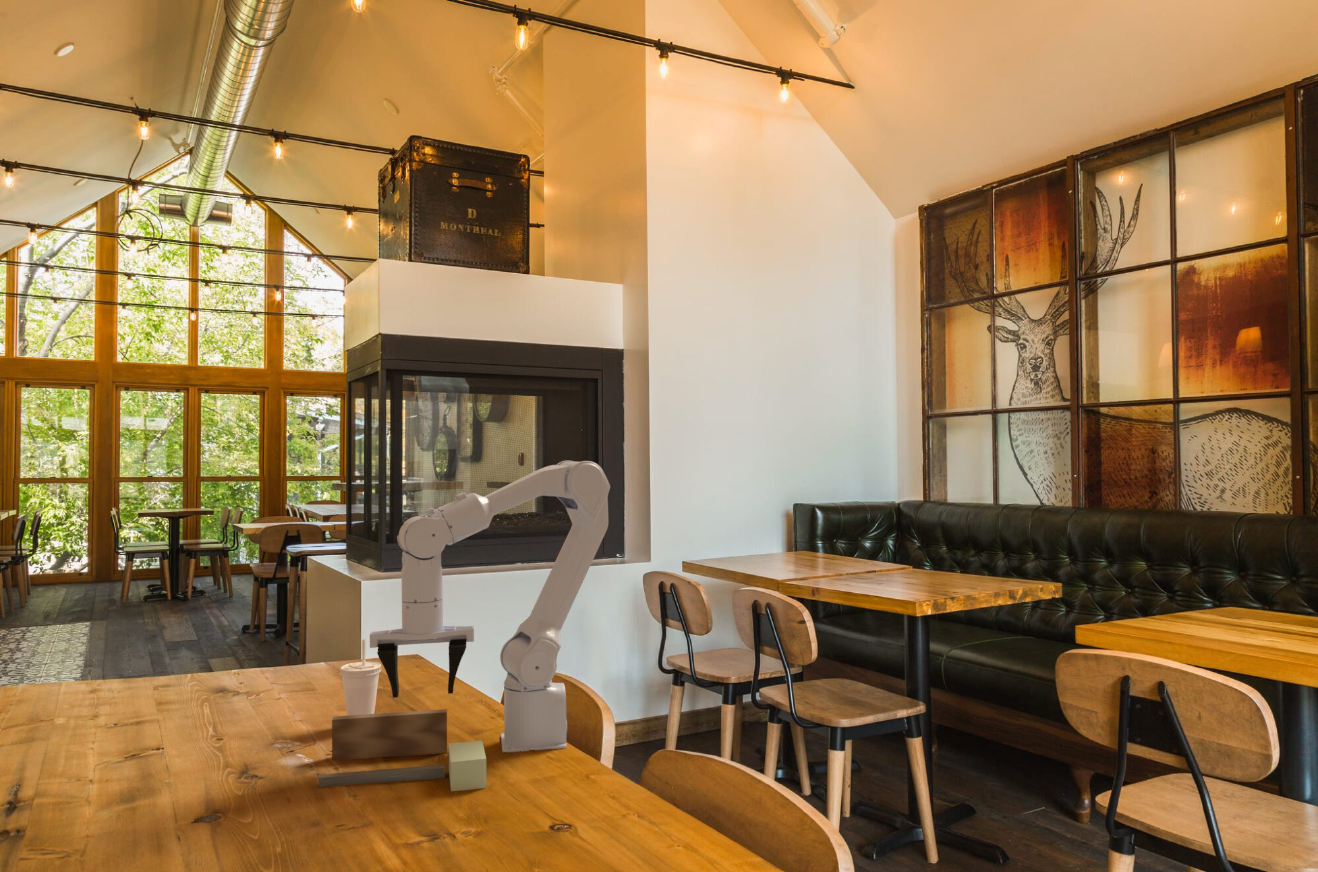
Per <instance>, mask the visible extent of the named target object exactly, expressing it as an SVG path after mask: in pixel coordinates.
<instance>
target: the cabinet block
mask: <svg viewBox="0 0 1318 872" xmlns="http://www.w3.org/2000/svg"><path fill="white" fill-rule="evenodd" d="M484 747H485V746H484V743H483V740H472V741H471V740H470V741H463V742H462V741H460V742H451V743H448V777H449V785H450V792H459V791H469V790H480V789H487V756H486V751H485V748H484Z"/></svg>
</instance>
